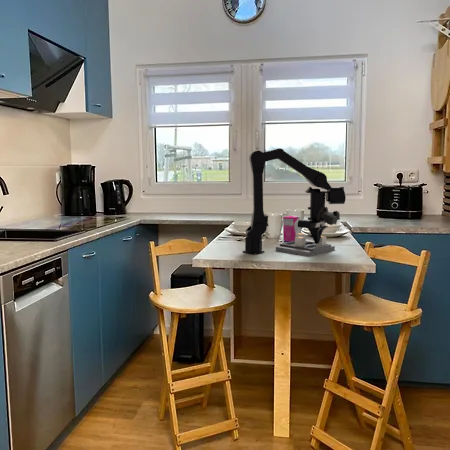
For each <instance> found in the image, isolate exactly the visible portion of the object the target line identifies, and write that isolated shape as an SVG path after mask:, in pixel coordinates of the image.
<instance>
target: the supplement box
mask: <svg viewBox="0 0 450 450" xmlns="http://www.w3.org/2000/svg"><path fill="white" fill-rule="evenodd" d="M282 220H283V221H282V226H283V227H282V231H283V232H282V233H283V235H282V236H283V237H282V238H283V243H287V242H291V241H295V236H296V234H298V233H301V227H297V223H298V221H299V220H301V216H300V215H287V216H283V217H282Z"/></svg>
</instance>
